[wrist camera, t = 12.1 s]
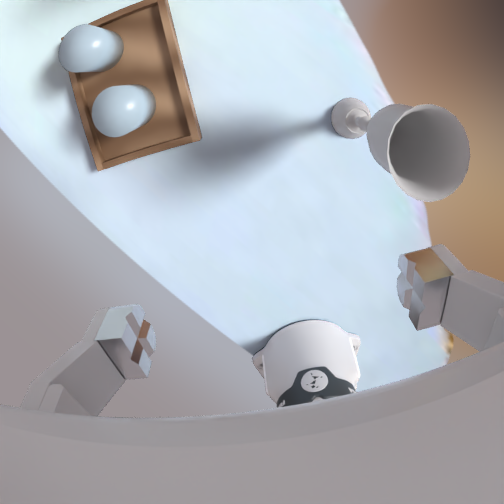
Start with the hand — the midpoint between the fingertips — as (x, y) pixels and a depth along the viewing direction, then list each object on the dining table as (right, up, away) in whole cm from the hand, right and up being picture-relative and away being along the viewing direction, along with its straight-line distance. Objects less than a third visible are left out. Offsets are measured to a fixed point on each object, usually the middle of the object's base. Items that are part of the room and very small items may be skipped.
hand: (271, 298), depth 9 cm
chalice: (+11, +17, +24) cm, 32 cm away
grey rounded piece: (-14, +18, +22) cm, 31 cm away
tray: (-14, +21, +21) cm, 33 cm away
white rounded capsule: (-17, +24, +18) cm, 35 cm away
